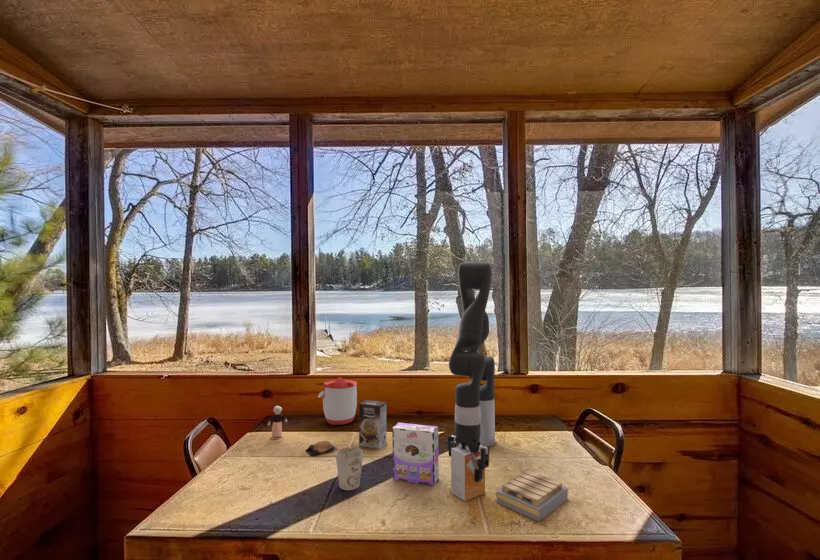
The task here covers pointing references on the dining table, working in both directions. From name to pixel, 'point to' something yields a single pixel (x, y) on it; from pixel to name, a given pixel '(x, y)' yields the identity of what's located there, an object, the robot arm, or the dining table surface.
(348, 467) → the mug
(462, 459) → the small box
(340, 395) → the citrus juicer
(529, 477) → the pallet
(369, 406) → the coffee box
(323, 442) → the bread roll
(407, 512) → the dining table surface
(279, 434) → the grandmother figurine
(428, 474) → the candy box
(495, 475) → the dining table surface
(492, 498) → the dining table surface
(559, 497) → the rack
